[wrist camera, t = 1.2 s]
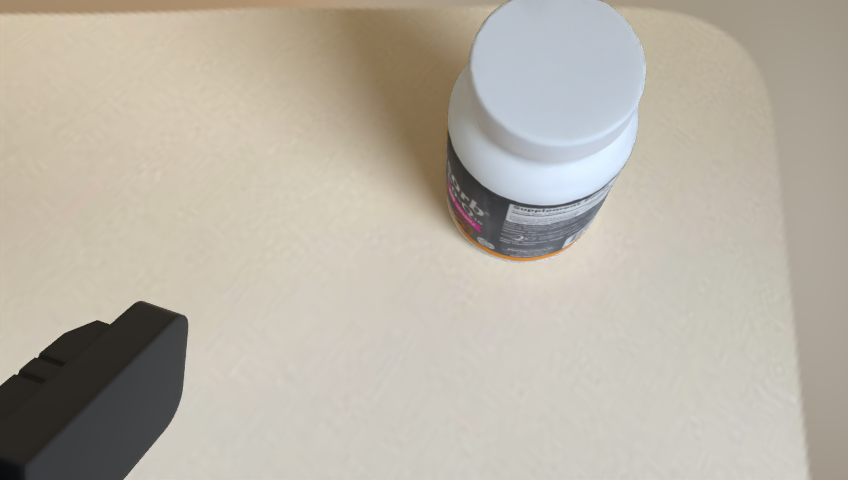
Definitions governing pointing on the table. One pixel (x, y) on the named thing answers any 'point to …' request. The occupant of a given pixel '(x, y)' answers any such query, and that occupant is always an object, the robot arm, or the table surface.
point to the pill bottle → (541, 125)
